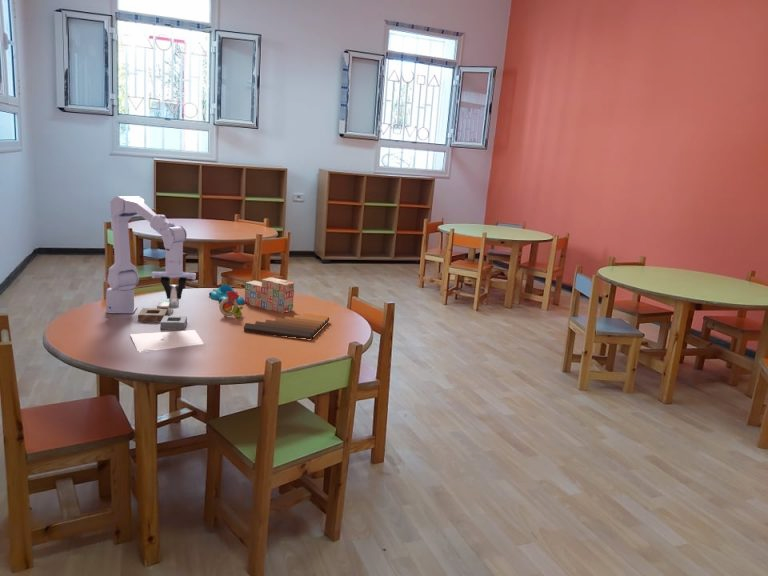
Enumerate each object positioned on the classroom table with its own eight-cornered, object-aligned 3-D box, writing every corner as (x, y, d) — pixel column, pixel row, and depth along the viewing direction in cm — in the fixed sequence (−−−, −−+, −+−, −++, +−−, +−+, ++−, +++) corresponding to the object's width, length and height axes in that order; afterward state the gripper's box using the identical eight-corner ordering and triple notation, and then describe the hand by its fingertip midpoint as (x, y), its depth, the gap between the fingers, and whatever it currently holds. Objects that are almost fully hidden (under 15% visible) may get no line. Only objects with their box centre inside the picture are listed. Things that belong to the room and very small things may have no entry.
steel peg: (168, 308, 202) (168, 286, 201) (169, 306, 206) (169, 284, 204) (178, 308, 203) (178, 286, 201) (179, 306, 206) (179, 284, 204)
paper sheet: (202, 331, 203) (202, 329, 203) (214, 363, 178) (214, 360, 178) (130, 334, 193) (130, 331, 193) (131, 368, 168) (131, 365, 168)
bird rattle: (227, 324, 219) (248, 314, 222) (215, 299, 215) (237, 290, 218) (224, 320, 225) (245, 310, 227) (213, 295, 221) (234, 286, 223)
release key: (158, 313, 218) (158, 306, 217) (161, 308, 224) (161, 301, 224) (169, 313, 218) (169, 306, 218) (172, 308, 225) (172, 301, 225)
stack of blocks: (244, 303, 243) (244, 275, 240) (254, 301, 248) (255, 273, 246) (283, 313, 233) (285, 284, 231) (293, 310, 239) (294, 282, 236)
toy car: (230, 294, 256) (230, 280, 255) (247, 304, 243) (248, 289, 241) (206, 296, 249) (206, 281, 248) (223, 307, 236) (223, 291, 234)
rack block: (160, 329, 201) (160, 322, 201) (163, 322, 209) (163, 315, 208) (184, 329, 203) (184, 322, 202) (186, 322, 211) (187, 316, 210)
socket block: (137, 321, 207) (137, 314, 207) (142, 314, 216) (142, 308, 215) (164, 321, 209) (164, 315, 209) (167, 315, 218) (167, 308, 217)
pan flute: (243, 333, 206) (310, 342, 202) (243, 324, 205) (310, 333, 202) (268, 315, 230) (328, 323, 226) (269, 307, 229) (329, 315, 226)
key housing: (156, 314, 217) (156, 306, 217) (159, 310, 223) (159, 301, 222) (170, 314, 218) (170, 306, 218) (173, 310, 224) (173, 302, 223)
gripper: (150, 262, 195) (150, 300, 198) (194, 263, 198) (194, 301, 201) (153, 258, 202) (153, 295, 205) (196, 259, 205) (196, 296, 208)
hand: (174, 298), depth 204 cm, fingers closed on steel peg, 3 cm apart
